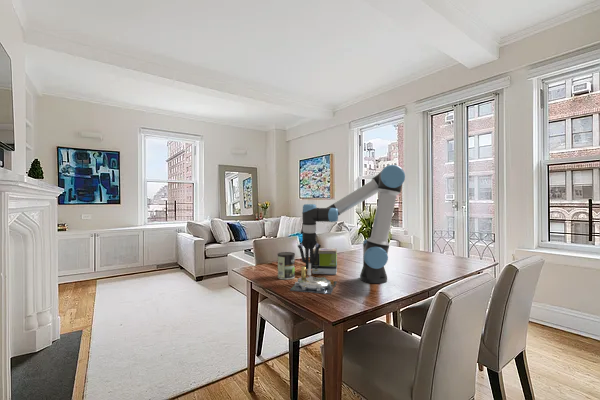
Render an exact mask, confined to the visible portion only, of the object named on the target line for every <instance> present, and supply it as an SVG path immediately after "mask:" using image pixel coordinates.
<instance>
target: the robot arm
mask: <svg viewBox="0 0 600 400" xmlns="http://www.w3.org/2000/svg"><path fill="white" fill-rule="evenodd" d="M405 180H406V174H405V171H404V170H403V168H402V167H401V166H399V165H396V164H389V165H386V166H384V168H382V170H381V171H380V172H379V173H378V174H376V175H375V176H373V177H372V178H371V181H368V182H366V184H363V186H361V187H359V188H357V189H355V190H353V192H350V193H349V194H347V195H345V196H344V197H343V198H341V199H339V200H337V201H335V202H334V203H332V204H330V205H329V206H327V207H317V205H316V204H313V203H305V204H303V205H302V212H301V214H302V217H301V218H302V237H301V238H302V240H301V243H299V244H298V245H297V247H298V250H299V253H300V257H301V261H302V262H303V263H305V266H306V275H307V276H312V269H313V262H316V259H317V255H318V251H319V248H321V246H322V245H321V244H320V243H318V242H317V233H316V232H317V222H322V223H324V222H326V223H336V222H338V221H339V216H341V215H342V214H344V213H345V212H347V211H349V210H350V209H353V208H354V207H356V206H358V205H359V204H360V203H363V202H364V201H366V200H367V199H370V198H371V197H373V196H374V195H376V194H378V193H379V194H378V200H377V205H376V209H375V214H374V219H373V223H372V229H371V234H370V237H368V238H367V239H364V240H363V243H362V252H363V253H362V255H363V257H362V269H361V272H360V273H359V280H360V281H362V282H363V283H369V284H384V283H387V282H388V275H387V272H386V269H385V266H386V264H387V263H388V261H389V255H388V252H389V249H390V242H389V241H388V238H389V234H390V228H391V223H392V220H393V215H394V209H395V206H396V205H395V204H396V200H397V196H398V195H400V194H401V191H402V188H403V184H404V182H405ZM303 248H304V250H305V251H304V250H303ZM314 248H315V253H314V257H313V249H314ZM304 252H305V254H304Z"/></svg>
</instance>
